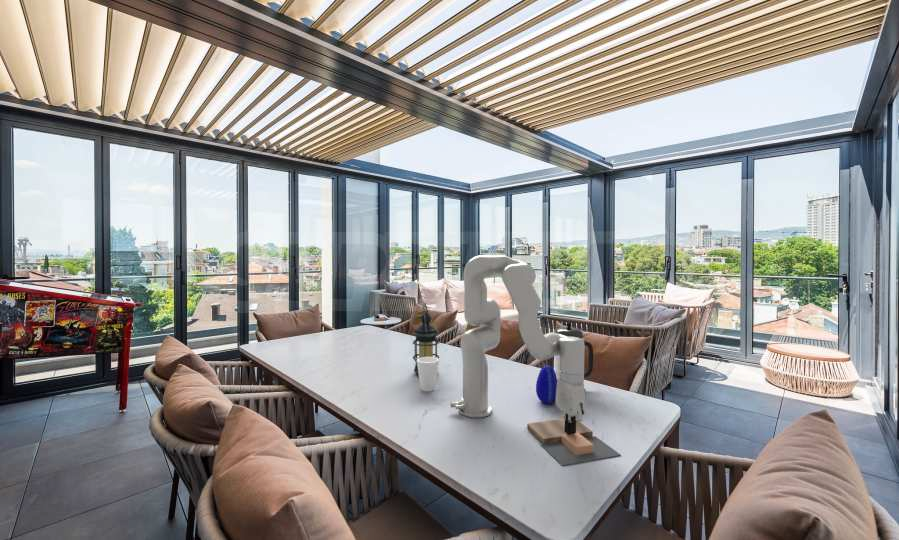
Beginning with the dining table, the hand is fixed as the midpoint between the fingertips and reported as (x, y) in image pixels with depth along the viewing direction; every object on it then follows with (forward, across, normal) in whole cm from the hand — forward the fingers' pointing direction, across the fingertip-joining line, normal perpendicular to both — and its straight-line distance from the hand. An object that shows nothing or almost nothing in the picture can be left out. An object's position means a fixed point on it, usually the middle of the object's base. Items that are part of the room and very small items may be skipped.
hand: (570, 432), depth 124 cm
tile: (+3, +4, 0) cm, 5 cm away
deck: (+3, -6, 0) cm, 7 cm away
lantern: (+3, -80, -29) cm, 85 cm away
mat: (+3, +5, 0) cm, 6 cm away
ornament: (+3, -31, +10) cm, 32 cm away
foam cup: (+3, -59, -33) cm, 67 cm away
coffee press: (+3, -41, +27) cm, 49 cm away
